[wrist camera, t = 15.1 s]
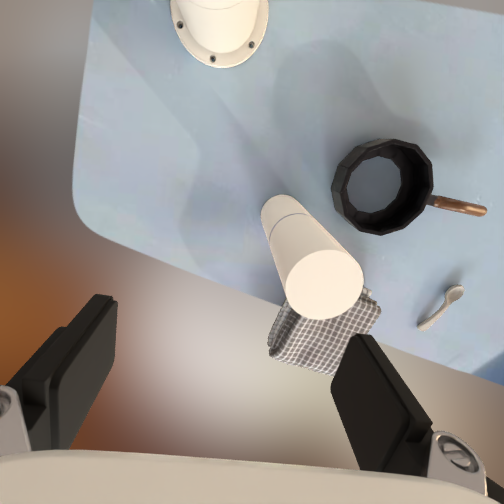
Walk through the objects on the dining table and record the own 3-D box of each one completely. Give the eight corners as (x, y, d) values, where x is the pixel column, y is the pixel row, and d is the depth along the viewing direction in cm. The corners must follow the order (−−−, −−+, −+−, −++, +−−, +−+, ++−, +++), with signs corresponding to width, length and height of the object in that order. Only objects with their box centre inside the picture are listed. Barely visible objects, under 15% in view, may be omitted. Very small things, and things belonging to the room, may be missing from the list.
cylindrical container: (268, 189, 47) (302, 239, 24) (308, 202, 48) (377, 262, 25) (255, 228, 50) (274, 309, 27) (293, 240, 51) (343, 326, 28)
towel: (263, 338, 58) (267, 366, 51) (304, 261, 53) (315, 281, 45) (328, 358, 62) (340, 388, 54) (373, 287, 56) (394, 310, 48)
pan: (348, 130, 45) (360, 130, 41) (488, 166, 48) (512, 169, 44) (321, 217, 50) (329, 225, 46) (449, 244, 53) (468, 253, 49)
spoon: (463, 285, 57) (471, 291, 55) (422, 328, 61) (427, 335, 59) (452, 279, 56) (459, 285, 54) (411, 323, 60) (416, 329, 59)
